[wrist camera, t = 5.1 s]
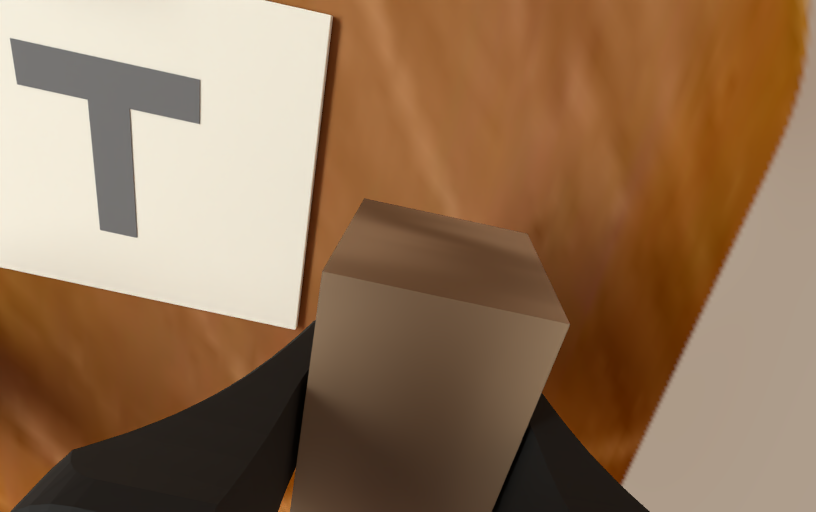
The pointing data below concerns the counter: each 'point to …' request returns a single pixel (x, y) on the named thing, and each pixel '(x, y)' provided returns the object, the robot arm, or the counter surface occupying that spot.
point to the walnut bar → (423, 364)
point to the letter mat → (163, 148)
